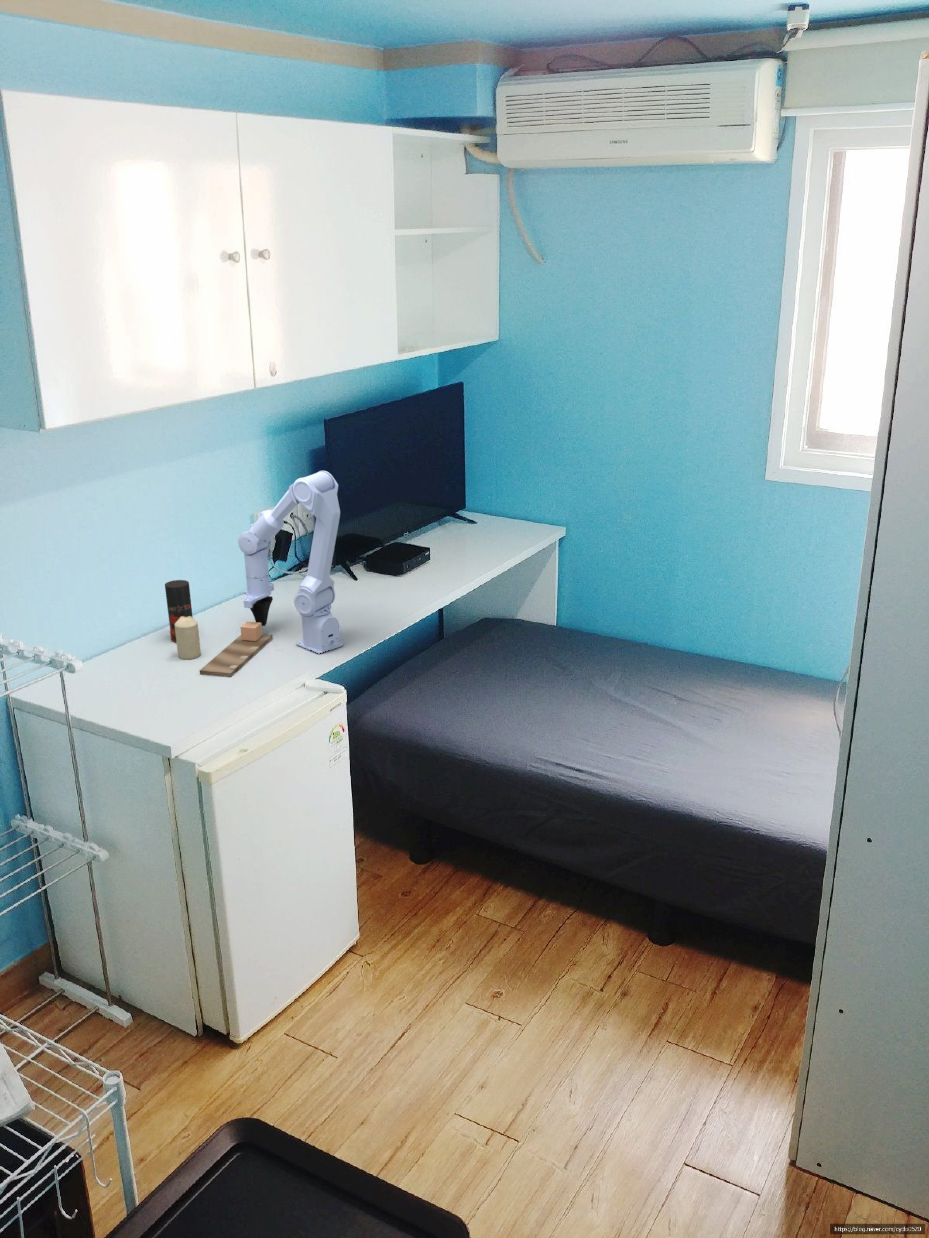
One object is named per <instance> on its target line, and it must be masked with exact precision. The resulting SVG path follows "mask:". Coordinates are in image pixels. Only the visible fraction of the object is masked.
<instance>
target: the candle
mask: <svg viewBox="0 0 929 1238" xmlns="http://www.w3.org/2000/svg"><path fill="white" fill-rule="evenodd" d="M198 622H199V621H197V620H196V619H195V618H194V617H193V618H192V617H191V616H188V617H183V616H182V617H180V618H179V619H178V621H177V622H176V623H175V633H176V642H177V643H176V649H177V656H178V658H179V659H181V660H194V659H197V658H199V657H200V656H201V654H202V652H201V642H200V633H199V623H198Z"/></svg>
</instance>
